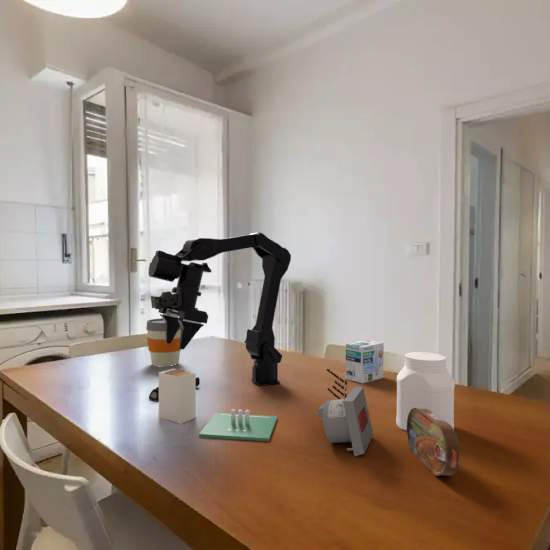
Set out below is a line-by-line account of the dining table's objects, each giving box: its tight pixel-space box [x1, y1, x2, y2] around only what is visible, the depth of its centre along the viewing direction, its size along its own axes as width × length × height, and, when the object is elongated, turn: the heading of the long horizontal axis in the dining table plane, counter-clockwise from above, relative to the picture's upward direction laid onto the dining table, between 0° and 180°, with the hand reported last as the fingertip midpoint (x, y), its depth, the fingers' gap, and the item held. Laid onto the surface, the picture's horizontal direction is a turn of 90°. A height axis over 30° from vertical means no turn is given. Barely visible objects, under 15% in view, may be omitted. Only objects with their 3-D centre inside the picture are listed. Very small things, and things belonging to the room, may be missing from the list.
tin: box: [406, 408, 461, 477], centre depth 72 cm, size 15×3×8 cm, turn 5°
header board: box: [198, 408, 278, 442], centre depth 87 cm, size 12×14×4 cm
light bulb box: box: [345, 339, 385, 384], centre depth 125 cm, size 11×7×11 cm, turn 131°
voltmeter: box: [317, 368, 374, 457], centre depth 87 cm, size 27×11×10 cm, turn 13°
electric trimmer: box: [148, 376, 201, 402], centre depth 111 cm, size 4×16×3 cm, turn 143°
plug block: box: [158, 368, 197, 425], centre depth 93 cm, size 4×7×10 cm, turn 56°
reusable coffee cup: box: [145, 317, 182, 367], centre depth 142 cm, size 13×13×15 cm
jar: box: [395, 351, 456, 431], centre depth 88 cm, size 12×10×15 cm
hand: (174, 346), depth 105 cm, fingers open, 9 cm apart
